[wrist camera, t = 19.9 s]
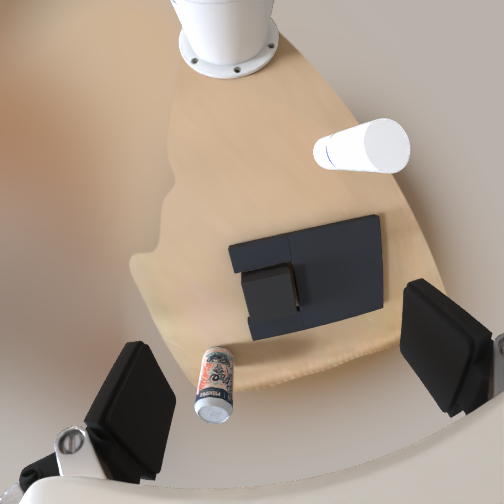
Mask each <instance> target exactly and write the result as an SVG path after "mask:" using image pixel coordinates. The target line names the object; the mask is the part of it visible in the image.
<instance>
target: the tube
mask: <svg viewBox="0 0 504 504" xmlns="http://www.w3.org/2000/svg"><path fill="white" fill-rule="evenodd" d="M409 156H410V143H409V139H408V136H407V134H406V132H405V131H404V130H403V128H402V127H401V126H400V125H399V124H398V123H397V122H395V121H393V120H390V119H386V118H381V119H376V120H373V121H370V122H367V123H364V124H361V125H357V126H354V127H351V128H348V129H345V130H343V131H340V132H337V133H334V134H331V135H328V136H325V137H323V138H321V139H319V140H318V141H317V142H316V144H315V146H314V157H315V160H316V162H317V163H318V164H319V165H320V166H321V167H323V168H325V169H331V170H351V171H366V172H379V173H395V172H398V171H400V170H401V169H402V168H404V167H405V165H406V164H407V162H408V160H409Z"/></svg>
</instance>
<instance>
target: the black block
mask: <svg viewBox="0 0 504 504" xmlns="http://www.w3.org/2000/svg"><path fill="white" fill-rule="evenodd" d="M241 285H242V289H243V293H244V296H245V300H246V304H247V308H248V312H249V315H250V319H251V323H252V324H256V323H261V322H265V321H270V320H275V319H279V318H284V317H288V316H293V315H297V309H296V303H295V297H294V292H293V286H292V280H291V275H290V271H289V269H288V267H287V264H286V263H284V264H279V265H275V266H270V267H266V268H261V269H256V270H252V271H247V272H243V273H241Z"/></svg>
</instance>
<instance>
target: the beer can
mask: <svg viewBox="0 0 504 504" xmlns="http://www.w3.org/2000/svg"><path fill="white" fill-rule="evenodd" d="M233 382H234V356H233V354H232V353H231V352H230V351H229V350H227V349H225V348H221V347H214V348H211V349H209V350H207V351H206V352H205V354H204V356H203V362H202V367H201V373H200V378H199V384H198V390H197V395H196V401H195V410H196V412H197V414H198V416H199V418H200V419H202V420H203V421H205V422H207V423H213V424H218V423H223V422H225V421H226V420H227V419H228V418H229V416H231V414H232V412H233Z"/></svg>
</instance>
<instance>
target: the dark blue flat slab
mask: <svg viewBox="0 0 504 504" xmlns="http://www.w3.org/2000/svg"><path fill="white" fill-rule="evenodd" d="M228 250H229V254H230V258H231V262H232V266H233V269H234V273H239V272H244V271H249V270H253V269H258V268H262V267H267V266H271V265H276V264H280V263H285V262H289V261H291V263H292V269H293V275H294V280H295V286H296V292H297V297H298V303H299V306H296V309H297V315H293V316H288V317H284V318H279V319H275V320H270V321H265V322H261V323H256V324H252V323H251V319H250V317H248V325H249V329H250V332H251V336H252V339H253V341H255V340H260V339H265V338H270V337H275V336H279V335H284V334H288V333H293V332H297V331H301V330H305V329H309V328H314V327H318V326H321V325H325V324H329V323H333V322H337V321H340V320H344V319H348V318H351V317H355V316H358V315H361V314H365V313H368V312H371V311H375V310H378V309H381V308H383V261H382V244H381V231H380V220H379V216H377V215H369V216H364V217H360V218H355V219H350V220H345V221H341V222H336V223H331V224H327V225H322V226H317V227H313V228H308V229H303V230H299V231H294V232H290V233H285V234H280V235H276V236H271V237H267V238H262V239H257V240H253V241H248V242H244V243H240V244H235V245H231V246H229V248H228Z"/></svg>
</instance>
